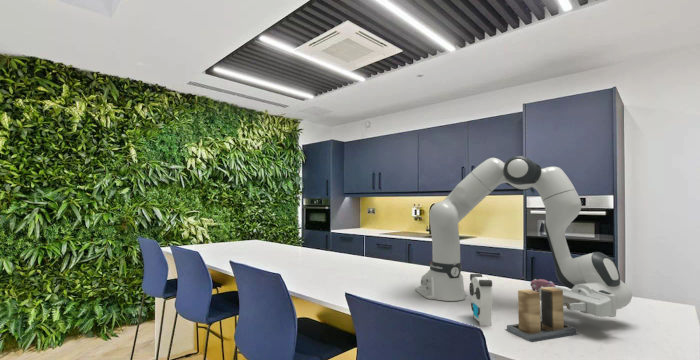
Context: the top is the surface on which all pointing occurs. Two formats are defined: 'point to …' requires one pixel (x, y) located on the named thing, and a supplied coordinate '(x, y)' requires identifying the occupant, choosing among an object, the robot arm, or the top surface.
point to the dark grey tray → (543, 333)
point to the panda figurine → (481, 298)
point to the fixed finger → (529, 311)
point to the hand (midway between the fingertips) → (554, 302)
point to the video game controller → (541, 284)
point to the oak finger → (552, 308)
